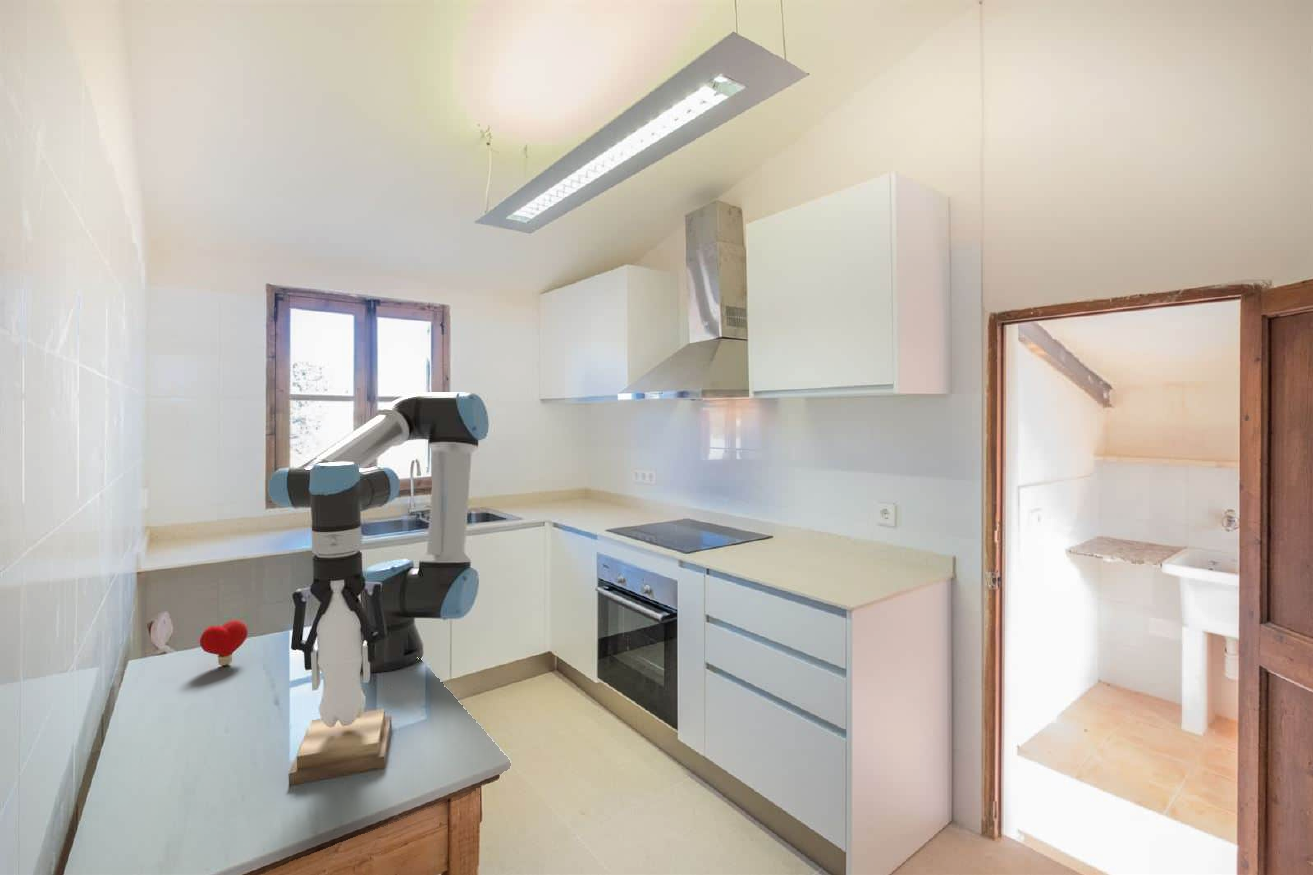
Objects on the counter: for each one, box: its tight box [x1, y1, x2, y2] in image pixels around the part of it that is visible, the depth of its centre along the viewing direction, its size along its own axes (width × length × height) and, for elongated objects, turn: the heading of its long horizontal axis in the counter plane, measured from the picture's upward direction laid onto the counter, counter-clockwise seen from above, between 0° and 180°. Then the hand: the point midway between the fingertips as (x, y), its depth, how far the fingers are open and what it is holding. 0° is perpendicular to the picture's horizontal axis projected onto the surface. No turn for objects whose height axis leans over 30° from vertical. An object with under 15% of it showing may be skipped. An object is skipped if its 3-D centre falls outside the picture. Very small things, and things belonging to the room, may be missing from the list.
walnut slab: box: [288, 715, 393, 786], centre depth 105 cm, size 14×14×2 cm
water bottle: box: [316, 580, 366, 727], centre depth 104 cm, size 7×7×25 cm
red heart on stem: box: [199, 620, 248, 667], centre depth 141 cm, size 9×7×10 cm
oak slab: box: [296, 708, 386, 769], centre depth 105 cm, size 12×12×2 cm
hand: (341, 682), depth 105 cm, fingers closed on water bottle, 7 cm apart
